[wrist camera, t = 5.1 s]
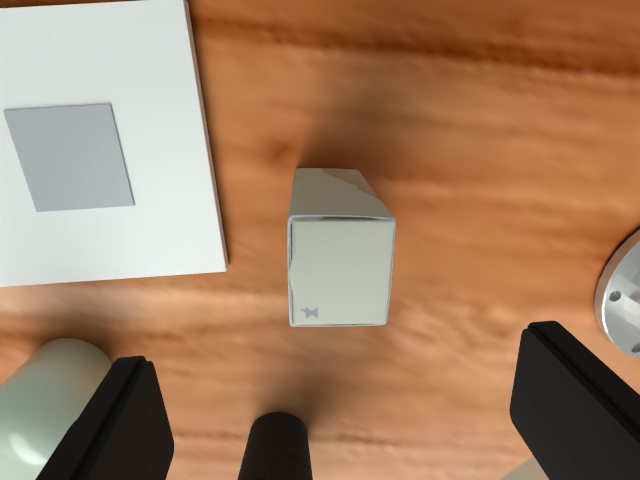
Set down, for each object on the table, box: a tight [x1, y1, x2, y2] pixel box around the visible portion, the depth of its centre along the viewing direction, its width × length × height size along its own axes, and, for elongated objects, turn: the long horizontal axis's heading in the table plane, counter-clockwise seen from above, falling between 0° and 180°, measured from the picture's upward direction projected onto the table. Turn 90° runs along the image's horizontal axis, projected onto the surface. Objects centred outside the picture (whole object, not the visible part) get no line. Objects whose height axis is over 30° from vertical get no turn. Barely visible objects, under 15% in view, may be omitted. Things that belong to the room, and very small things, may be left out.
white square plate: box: [0, 0, 229, 287], centre depth 24 cm, size 16×16×1 cm
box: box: [288, 168, 396, 327], centre depth 21 cm, size 5×4×11 cm
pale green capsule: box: [0, 338, 112, 480], centre depth 27 cm, size 6×6×7 cm
